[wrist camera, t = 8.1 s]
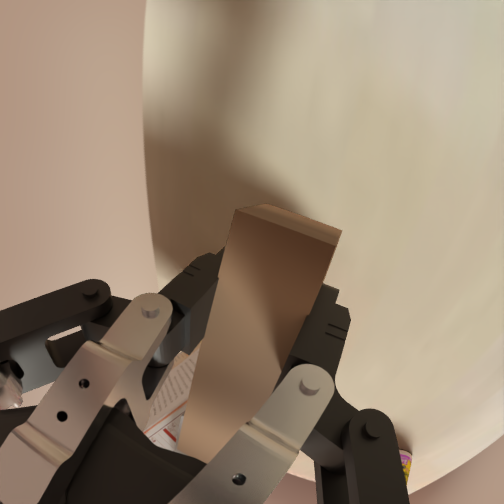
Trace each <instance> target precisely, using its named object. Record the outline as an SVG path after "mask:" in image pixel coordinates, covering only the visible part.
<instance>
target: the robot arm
mask: <svg viewBox="0 0 504 504" xmlns="http://www.w3.org/2000/svg"><path fill="white" fill-rule="evenodd" d="M225 247H226V246H225ZM225 247H224V248H223V249H222V250H221V251H220V252H219V253H218V254H216V255H214V254H212V253H207V254H205V255H202V256H200V257H197V258H196V259H195V260H194V261H193V262H192V263H191V264H190V265H189V266H187V267H186V268H185V269H184V270H183V272H181V273H179V274H178V275H177V276H176V277H175V278H174V279H173V280H172V281H171V282H170V283H168V284H167V285H166V286H165V287H164V288H163V289H162V290H161V291H160V292H158V293H145V294H141V295H139V296H137V297H136V298H134V299H133V300H128V299H124V298H119V297H115V296H112V295H111V291H110V287H109V286H108V284H107V283H106V282H104V281H102V280H98V279H90V280H85V281H82V282H79V283H76V284H74V285H71V286H68V287H65V288H62V289H59V290H56V291H54V292H51V293H48V294H45V295H42V296H40V297H37V298H34V299H31V300H29V301H26V302H23V303H20V304H18V305H15V306H12V307H9V308H7V309H4V310H1V311H0V504H263V503H264V502H265V500H266V499H267V498H268V496H269V495H270V494H271V493H272V491H273V490H274V489H275V487H276V486H277V484H278V483H279V482H280V481H281V479H282V478H283V476H284V475H285V474H286V472H287V471H288V469H289V468H290V467H291V465H292V464H293V462H294V461H295V459H296V457H297V456H298V454H299V450H301V451H302V452H304V453H305V454H306V455H307V456H309V457H310V458H311V459H313V460H314V468H315V480H316V491H317V504H410V503H409V498H408V491H407V486H406V481H405V476H404V471H403V466H402V461H401V456H400V452H399V447H398V443H397V439H396V434H395V430H394V426H393V424H392V422H391V420H390V419H389V417H388V416H387V415H385V414H384V413H383V412H381V411H379V410H376V409H363V410H361V411H358V410H357V409H356V408H354V407H353V406H351V405H350V404H349V403H347V402H346V401H345V400H344V399H343V398H342V397H341V396H340V394H339V393H338V391H337V389H336V385H335V375H336V371H337V368H338V365H339V361H340V358H341V355H342V351H343V348H344V344H345V340H346V337H347V332H348V329H349V325H350V321H351V319H350V315H349V311H348V308H345V307H343V306H340V305H338V304H335V303H336V300H337V297H338V293H339V289H336V288H334V287H331V286H329V285H326V284H323V283H322V285H321V288H320V290H319V293H318V295H317V298H316V300H315V302H314V305H313V307H312V309H311V312H310V314H309V315H307V316H306V318H305V321H304V323H303V325H302V327H301V329H300V332H299V334H298V336H297V338H296V340H295V343H294V345H293V347H292V349H291V351H290V353H289V355H288V358H287V360H286V362H285V365H284V367H283V369H282V372H281V374H280V376H279V378H278V381H277V383H276V385H275V387H274V389H273V392H272V394H271V396H270V397H269V399H268V400H267V401H266V402H265V404H264V405H263V406H262V407H261V408H260V410H259V411H258V412H257V413H256V415H255V416H254V417H253V418H252V419H251V420H250V421H249V422H246V423H245V424H244V425H243V426H242V427H241V428H240V429H239V430H238V431H237V432H236V433H235V434H234V436H233V437H232V438H231V439H230V440H229V441H228V442H227V443H226V445H225V446H224V447H223V448H222V449H221V450H220V451H219V452H218V453H217V454H216V456H215V457H214V458H213V459H212V460H211V461H210V462H209V463H208V464H206V463H204V462H202V461H201V460H199V459H197V458H195V457H191V456H187V455H184V454H181V453H177V452H174V451H171V450H168V449H164V448H161V447H159V446H156V445H155V444H154V443H153V442H152V441H151V440H150V439H149V438H148V437H147V436H146V435H145V434H144V433H143V432H144V430H145V428H146V425H147V423H148V420H149V417H150V410H151V407H152V404H153V402H154V400H155V399H156V397H157V395H158V393H159V391H160V389H161V387H162V385H163V384H164V382H165V380H166V378H167V376H168V374H169V372H170V371H171V369H172V367H173V365H174V358H175V357H176V356H177V354H178V353H179V352H180V351H182V352H184V353H186V354H188V355H190V354H191V353H192V352H193V350H194V349H195V348H196V347H197V345H198V344H199V343H200V342H201V340H202V339H203V338H204V336H205V332H206V328H207V324H208V320H209V316H210V312H211V308H212V304H213V300H214V296H215V292H216V288H217V284H218V280H219V278H218V274H219V270H220V266H221V262H222V258H223V254H224V251H225ZM79 325H80V326H81V329H82V330H80V331H78V332H75V333H73V334H70V335H67V336H65V337H62V338H59V339H57V340H53V341H50V340H47V339H48V338H49V337H51V336H53V335H56V334H59V333H61V332H64V331H66V330H69V329H72V328H74V327H77V326H79ZM54 381H55V382H54ZM51 382H54V383H53V385H52V386H51V387H50V389H49V390H48V392H47V393H46V394H45V396H44V397H43V399H42V400H41V401H40V403H39V404H38V405H36V406H29V407H22V408H15V409H8V408H9V407H10V406H13V407H19V406H21V404H22V402H23V400H22V397H21V395H22V394H23V393H26V392H28V391H30V390H33V389H36V388H39V387H41V386H44V385H46V384H49V383H51Z"/></svg>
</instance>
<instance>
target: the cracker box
mask: <svg viewBox="0 0 504 504" xmlns="http://www.w3.org/2000/svg"><path fill="white" fill-rule="evenodd" d="M201 341H202V340H201ZM200 345H201V342H200V343H199V344H198V345H197V347H196V348H195V349H194V350H193V352H192V353H191V354H190V355H188V354H186V353H184V352H180V353H179V354H178V355H177V356H176V357H175V358H174V365H173V367H172V369H171V371H170V372H169V374H168V376H167V378H166V380H165V382H164V384H163V385H162V387H161V389H160V391H159V393H158V395H157V397H156V399H155V400H154V402H153V404H152V407H151V410H150V417H149V420H148V423H147V425H146V428H145V430H144V432H143V433H144V434H145V435H146V436H147V437H148V438H149V439H150V440H151V441H152V442H153V443H154V444H155V445H156V446H159V447H161V448H164V449H168V450H171V451H174V449H175V444H176V439H177V434H178V429H179V424H180V420H181V415H182V414H183V413H184V412H185V410H186V405H187V401H188V396H189V392H190V388H191V383H192V379H193V375H194V370H195V366H196V362H197V358H198V354H199V350H200Z"/></svg>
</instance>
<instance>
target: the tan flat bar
mask: <svg viewBox="0 0 504 504" xmlns="http://www.w3.org/2000/svg"><path fill="white" fill-rule="evenodd" d="M341 233H342V230H339V229H337V228H334V227H331V226H329V225H326V224H323V223H321V222H318V221H315V220H312V219H310V218H307V217H304V216H301V215H298V214H296V213H293V212H290V211H287V210H284V209H281V208H278V207H276V206H273V205H270V204H261V205H256V206H251V207H246V208H241V209H236V210H235V213H234V217H233V221H232V224H231V228H230V232H229V236H228V239H227V243H226V247H225V251H224V254H223V258H222V262H221V266H220V270H219V274H218V278H219V280H218V284H217V288H216V292H215V296H214V300H213V304H212V308H211V312H210V316H209V320H208V324H207V328H206V332H205V336H204V338H203V339H202V341H201V345H200V350H199V354H198V358H197V362H196V366H195V370H194V375H193V379H192V383H191V388H190V392H189V396H188V401H187V405H186V410H185V412H184V413H183V414H182V415H181V420H180V424H179V429H178V434H177V439H176V444H175V449H174V452H177V453H181V454H184V455H187V456H191V457H195V458H197V459H199V460H201V461H202V462H204V463H206V464H208V463H209V462H210V461H211V460H212V459H213V458H214V457H215V456H216V454H217V453H218V452H219V451H220V450H221V449H222V448H223V447H224V446H225V445H226V443H227V442H228V441H229V440H230V439H231V438H232V437H233V436H234V434H235V433H236V432H237V431H238V430H239V429H240V428H241V427H242V426H243V425H244V424H245V423H246V422H249V421H250V420H251V419H252V418H253V417H254V416H255V415H256V413H257V412H258V411H259V410H260V408H261V407H262V406H263V405H264V404H265V402H266V401H267V400H268V399H269V397H270V396H271V394H272V392H273V389H274V387H275V385H276V383H277V381H278V378H279V376H280V374H281V372H282V369H283V367H284V365H285V362H286V360H287V358H288V355H289V353H290V351H291V349H292V347H293V345H294V343H295V340H296V338H297V336H298V334H299V332H300V329H301V327H302V325H303V323H304V321H305V318H306V316H307V315H309V314H310V312H311V309H312V307H313V305H314V302H315V300H316V298H317V295H318V293H319V290H320V288H321V285H322V283H323V281H324V279H325V276H326V274H327V271H328V268H329V266H330V263H331V260H332V258H333V255H334V252H335V250H336V247H337V244H338V241H339V238H340V236H341Z"/></svg>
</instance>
